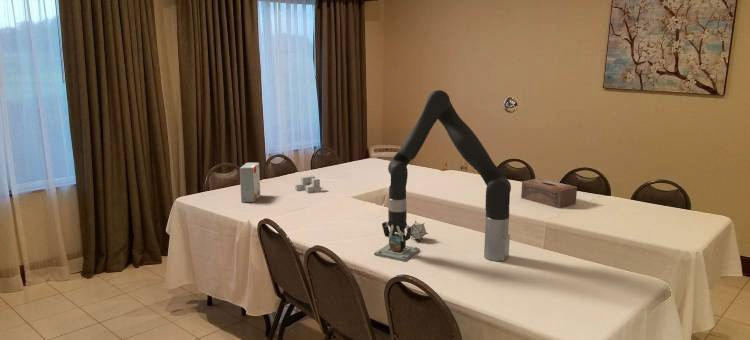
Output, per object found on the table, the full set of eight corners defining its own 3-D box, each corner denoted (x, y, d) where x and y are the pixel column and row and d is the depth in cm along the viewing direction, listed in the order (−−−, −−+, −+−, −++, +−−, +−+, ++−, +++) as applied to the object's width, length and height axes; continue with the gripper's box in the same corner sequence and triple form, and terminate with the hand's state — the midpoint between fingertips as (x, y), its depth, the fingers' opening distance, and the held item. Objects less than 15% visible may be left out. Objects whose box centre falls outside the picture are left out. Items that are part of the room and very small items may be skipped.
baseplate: (419, 250, 227) (419, 247, 226) (404, 261, 215) (404, 257, 215) (390, 244, 234) (390, 241, 234) (374, 255, 222) (374, 251, 222)
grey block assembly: (294, 189, 328) (294, 177, 327) (313, 187, 334) (312, 175, 332) (301, 194, 318) (300, 181, 316) (320, 191, 323) (319, 179, 322)
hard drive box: (254, 202, 300) (252, 167, 296) (241, 202, 301) (238, 167, 296) (260, 195, 316) (259, 162, 311) (248, 195, 316) (246, 162, 311)
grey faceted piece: (416, 248, 239) (407, 235, 233) (410, 236, 246) (401, 223, 240) (433, 239, 239) (425, 225, 233) (427, 227, 246) (419, 213, 240)
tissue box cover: (575, 204, 294) (577, 186, 292) (559, 209, 286) (560, 190, 284) (537, 194, 315) (538, 178, 313) (521, 198, 307) (522, 181, 305)
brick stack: (404, 248, 225) (404, 234, 224) (399, 251, 221) (399, 238, 220) (395, 246, 227) (395, 233, 226) (389, 249, 223) (389, 236, 222)
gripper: (417, 208, 220) (416, 248, 224) (386, 204, 227) (386, 242, 231) (408, 213, 214) (408, 254, 217) (377, 208, 221) (377, 247, 225)
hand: (397, 247), depth 224 cm, fingers closed on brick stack, 4 cm apart
